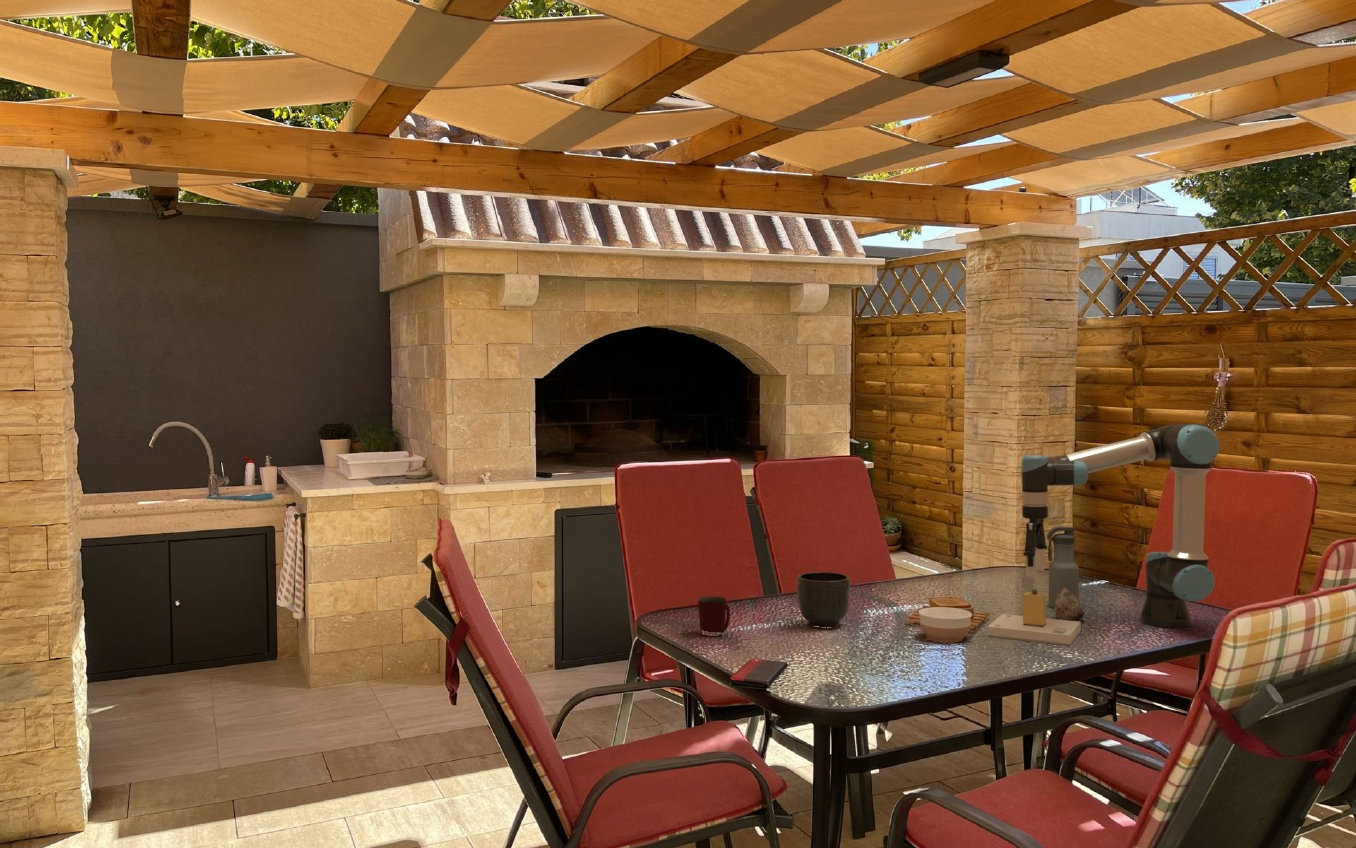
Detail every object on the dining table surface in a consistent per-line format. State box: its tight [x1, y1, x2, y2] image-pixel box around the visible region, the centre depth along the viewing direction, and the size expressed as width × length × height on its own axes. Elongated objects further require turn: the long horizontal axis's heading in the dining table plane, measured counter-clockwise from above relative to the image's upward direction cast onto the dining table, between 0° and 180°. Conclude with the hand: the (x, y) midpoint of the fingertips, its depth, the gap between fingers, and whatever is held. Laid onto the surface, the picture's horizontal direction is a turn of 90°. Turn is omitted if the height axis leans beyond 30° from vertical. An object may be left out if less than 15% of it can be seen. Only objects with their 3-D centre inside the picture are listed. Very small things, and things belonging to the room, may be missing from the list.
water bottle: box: [1046, 525, 1080, 609], centre depth 355 cm, size 10×10×28 cm
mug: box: [697, 595, 731, 633], centre depth 320 cm, size 12×9×11 cm
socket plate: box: [987, 613, 1082, 646], centre depth 318 cm, size 24×20×4 cm
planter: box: [796, 571, 851, 629], centre depth 332 cm, size 17×17×16 cm
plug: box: [1022, 589, 1047, 627], centre depth 318 cm, size 6×5×13 cm
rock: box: [1053, 588, 1085, 622], centre depth 338 cm, size 9×12×10 cm
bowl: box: [918, 606, 973, 643], centre depth 314 cm, size 16×16×8 cm
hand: (1035, 573), depth 317 cm, fingers open, 13 cm apart
